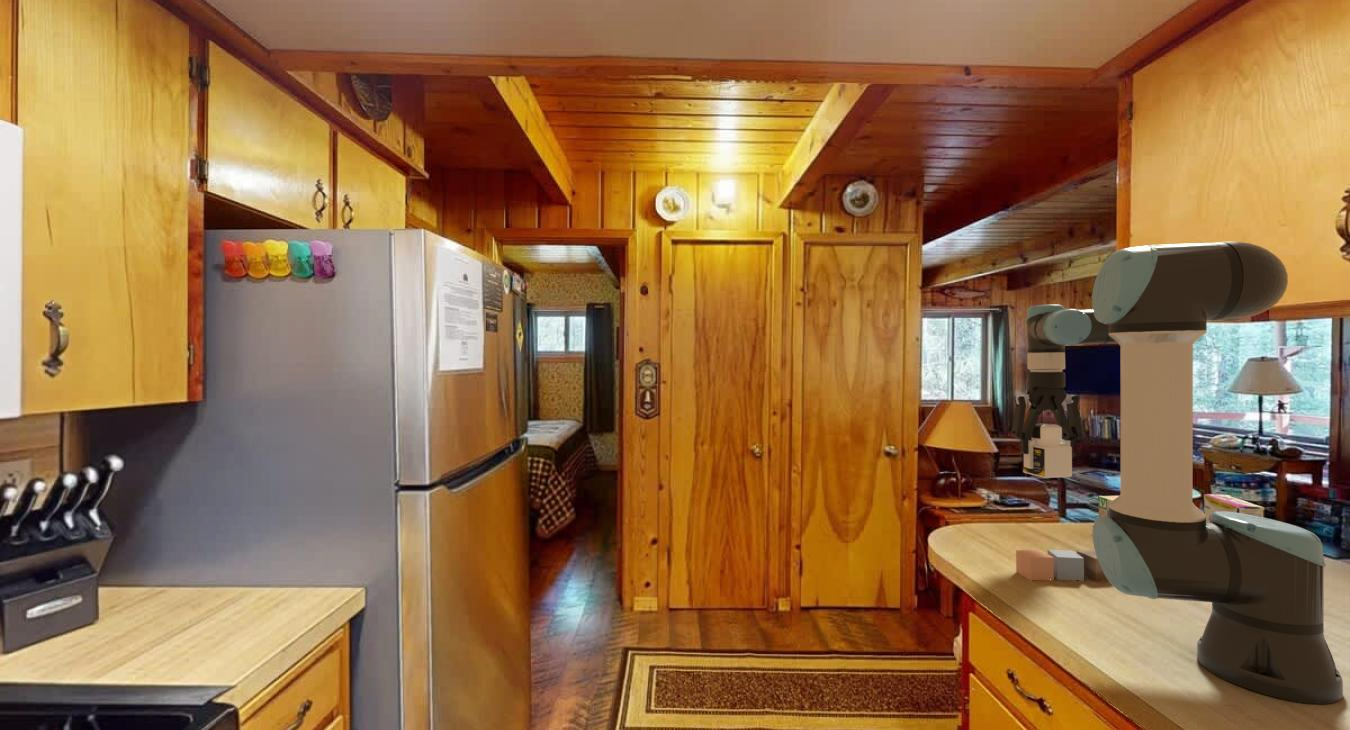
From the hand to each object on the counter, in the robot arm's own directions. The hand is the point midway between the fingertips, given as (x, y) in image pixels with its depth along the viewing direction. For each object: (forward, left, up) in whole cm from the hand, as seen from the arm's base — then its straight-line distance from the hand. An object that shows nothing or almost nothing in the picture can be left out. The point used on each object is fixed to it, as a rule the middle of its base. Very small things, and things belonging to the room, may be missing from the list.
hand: (1046, 467), depth 136 cm
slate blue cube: (-11, +2, -22) cm, 24 cm away
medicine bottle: (0, 0, -2) cm, 2 cm away
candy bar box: (-10, -33, -22) cm, 41 cm away
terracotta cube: (-11, +9, -22) cm, 26 cm away
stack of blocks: (+14, -31, -22) cm, 40 cm away
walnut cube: (-11, -4, -22) cm, 25 cm away
